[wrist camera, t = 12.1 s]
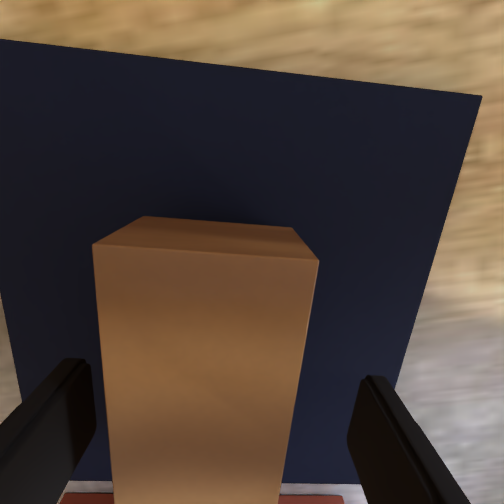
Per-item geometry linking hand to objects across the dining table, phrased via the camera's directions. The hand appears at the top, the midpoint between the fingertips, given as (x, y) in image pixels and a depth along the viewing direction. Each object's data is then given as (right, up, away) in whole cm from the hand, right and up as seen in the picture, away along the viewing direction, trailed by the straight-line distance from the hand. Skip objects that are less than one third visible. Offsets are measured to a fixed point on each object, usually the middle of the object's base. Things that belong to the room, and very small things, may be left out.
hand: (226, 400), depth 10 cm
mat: (-1, +2, +3) cm, 4 cm away
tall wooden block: (-1, +1, +3) cm, 3 cm away
